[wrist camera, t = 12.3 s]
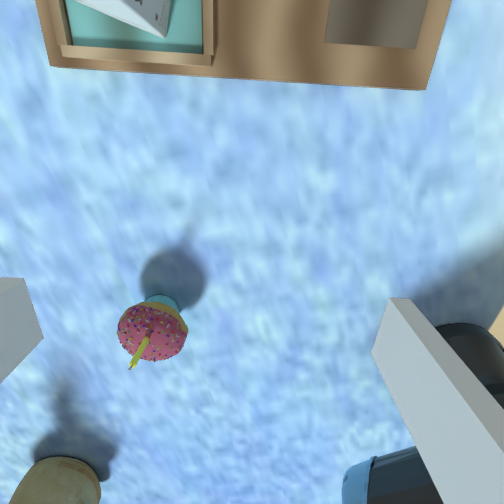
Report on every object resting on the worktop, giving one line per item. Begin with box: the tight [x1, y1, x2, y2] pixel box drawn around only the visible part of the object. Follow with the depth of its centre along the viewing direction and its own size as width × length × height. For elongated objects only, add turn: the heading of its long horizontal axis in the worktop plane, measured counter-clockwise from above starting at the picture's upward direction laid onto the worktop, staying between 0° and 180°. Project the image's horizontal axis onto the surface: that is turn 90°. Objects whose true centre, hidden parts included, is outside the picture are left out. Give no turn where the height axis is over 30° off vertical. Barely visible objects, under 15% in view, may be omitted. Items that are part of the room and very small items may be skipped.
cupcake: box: [116, 295, 188, 370], centre depth 34 cm, size 9×8×12 cm
